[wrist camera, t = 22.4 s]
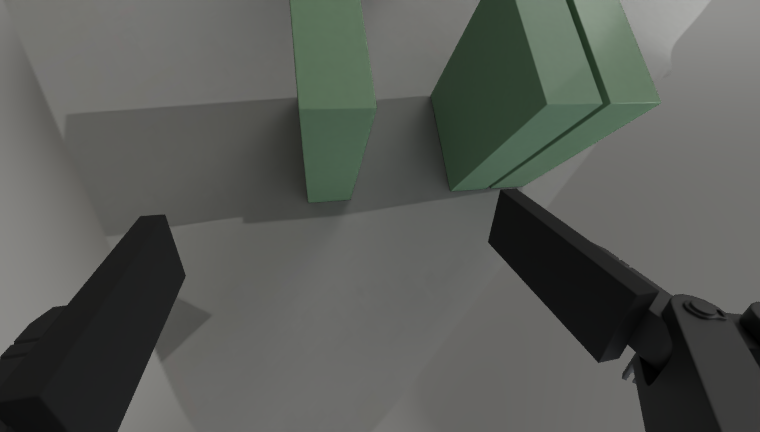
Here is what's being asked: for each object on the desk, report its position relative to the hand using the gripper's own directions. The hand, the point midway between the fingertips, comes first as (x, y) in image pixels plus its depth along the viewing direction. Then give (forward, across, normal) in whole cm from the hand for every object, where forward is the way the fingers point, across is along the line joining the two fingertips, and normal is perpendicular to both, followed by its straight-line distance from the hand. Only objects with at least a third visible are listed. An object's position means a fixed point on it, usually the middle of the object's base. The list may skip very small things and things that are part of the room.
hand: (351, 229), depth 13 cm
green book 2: (+16, +17, -2) cm, 23 cm away
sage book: (+16, 0, -2) cm, 17 cm away
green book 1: (+16, +13, -2) cm, 21 cm away
